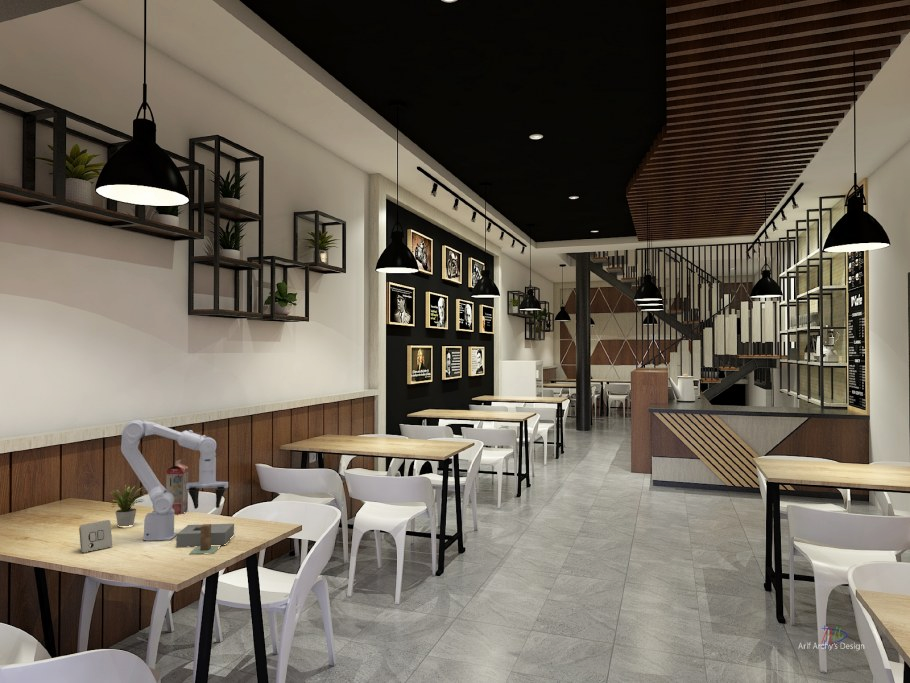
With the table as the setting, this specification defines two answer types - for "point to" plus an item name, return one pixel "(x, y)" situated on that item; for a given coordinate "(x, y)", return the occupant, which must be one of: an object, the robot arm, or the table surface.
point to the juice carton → (178, 486)
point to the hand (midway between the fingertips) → (207, 507)
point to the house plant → (126, 506)
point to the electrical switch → (95, 535)
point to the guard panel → (193, 535)
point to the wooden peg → (205, 537)
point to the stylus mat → (197, 551)
